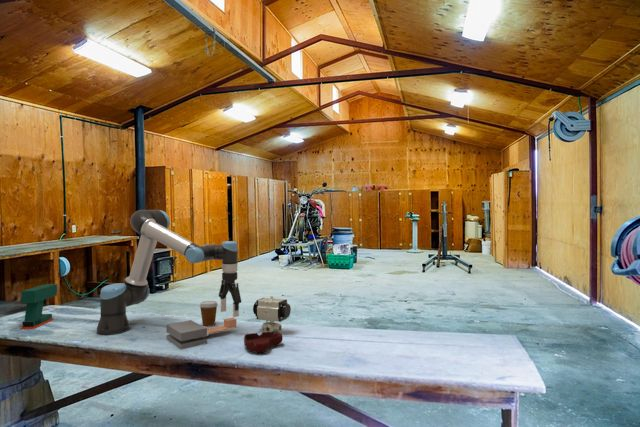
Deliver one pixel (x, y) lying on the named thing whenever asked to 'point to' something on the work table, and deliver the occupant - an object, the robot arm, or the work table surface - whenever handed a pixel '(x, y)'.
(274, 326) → the ball valve
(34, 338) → the work table surface
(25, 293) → the power tool
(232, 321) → the orange stepped block
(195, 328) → the block
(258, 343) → the ashtray
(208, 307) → the disposable coffee cup
